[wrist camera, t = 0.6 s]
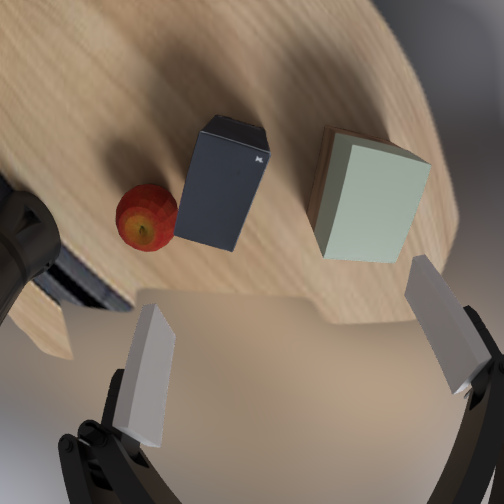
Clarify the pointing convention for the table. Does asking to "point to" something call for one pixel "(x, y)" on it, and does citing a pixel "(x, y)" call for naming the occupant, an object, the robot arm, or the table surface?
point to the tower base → (324, 166)
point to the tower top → (368, 200)
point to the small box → (222, 182)
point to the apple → (146, 217)
